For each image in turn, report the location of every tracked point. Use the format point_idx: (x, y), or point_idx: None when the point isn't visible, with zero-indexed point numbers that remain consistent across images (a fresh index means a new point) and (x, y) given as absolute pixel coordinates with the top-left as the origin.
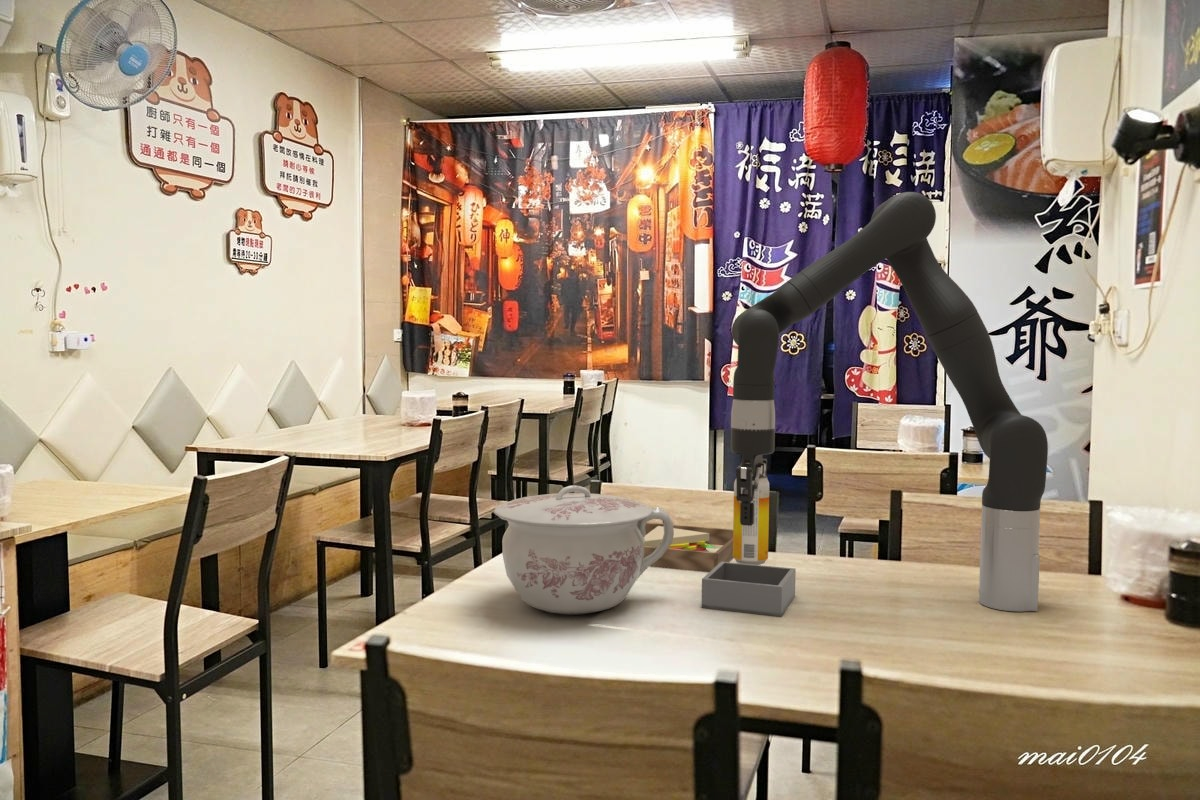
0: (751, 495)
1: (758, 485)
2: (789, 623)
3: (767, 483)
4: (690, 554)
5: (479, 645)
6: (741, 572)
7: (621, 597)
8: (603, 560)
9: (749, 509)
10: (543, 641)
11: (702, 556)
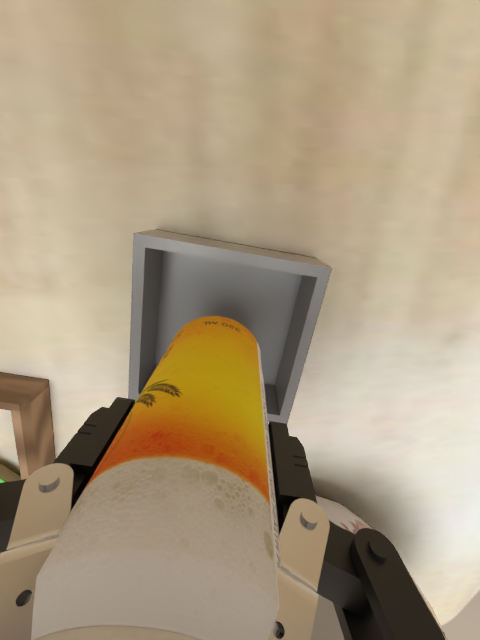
0: (388, 571)
1: (283, 611)
2: (355, 241)
3: (193, 573)
4: (30, 446)
5: (463, 577)
6: (146, 351)
7: (330, 503)
8: (428, 607)
9: (311, 487)
10: (451, 535)
11: (29, 425)
